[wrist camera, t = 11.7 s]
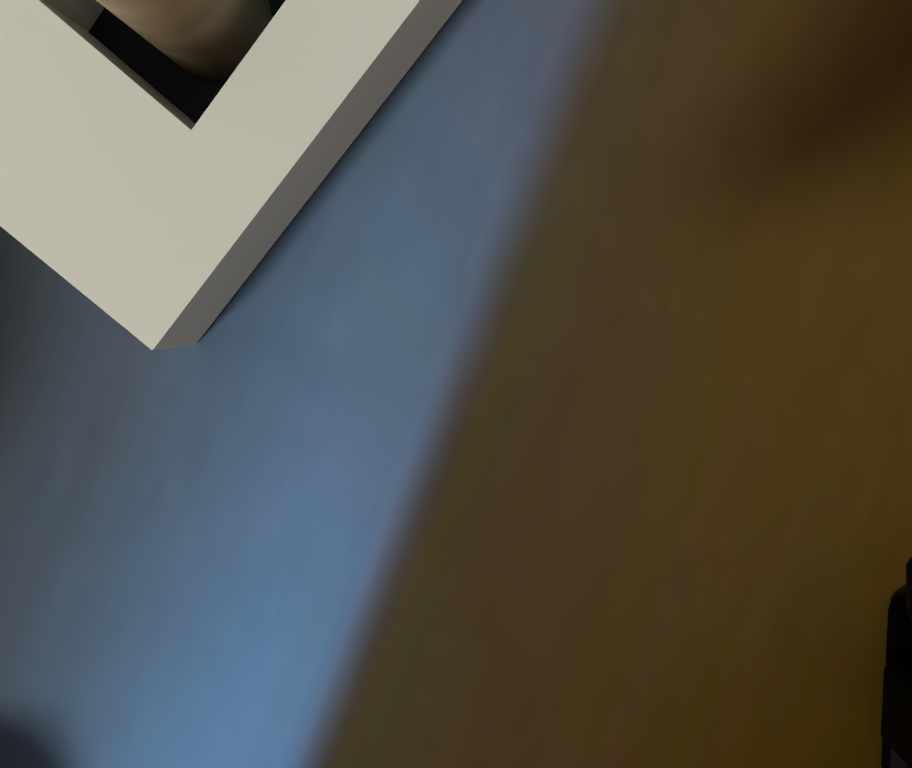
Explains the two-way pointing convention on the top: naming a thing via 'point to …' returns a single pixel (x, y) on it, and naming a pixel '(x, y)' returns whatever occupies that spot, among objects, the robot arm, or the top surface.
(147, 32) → the birch peg
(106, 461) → the top surface
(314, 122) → the socket plate
